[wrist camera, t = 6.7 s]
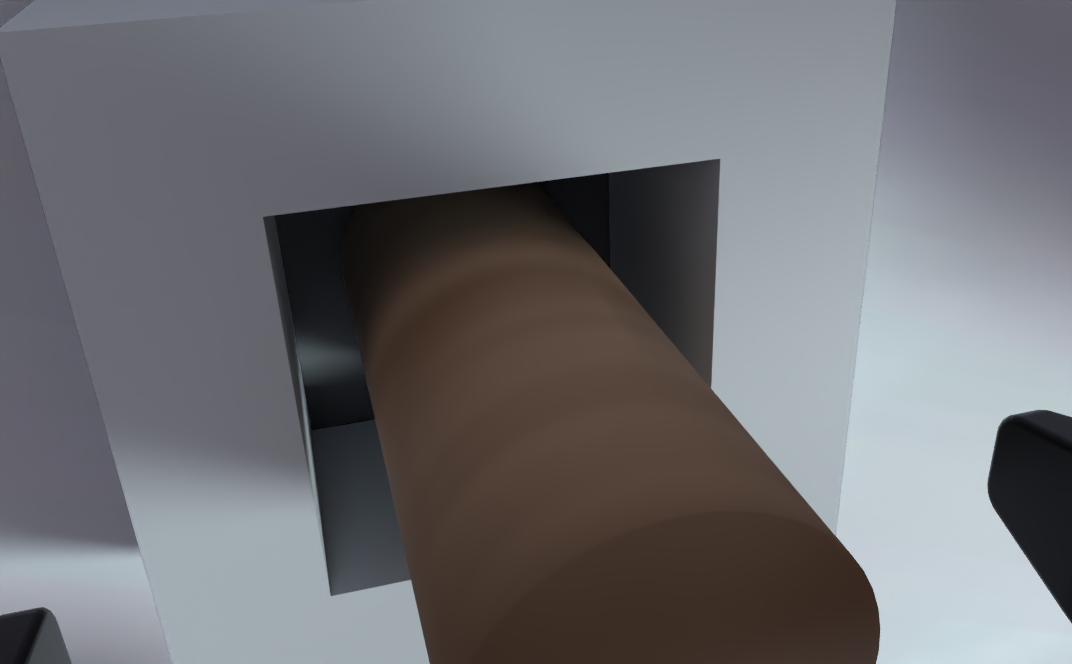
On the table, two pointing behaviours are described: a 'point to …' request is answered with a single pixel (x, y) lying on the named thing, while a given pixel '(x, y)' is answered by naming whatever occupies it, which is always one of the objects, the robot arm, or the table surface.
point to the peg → (574, 458)
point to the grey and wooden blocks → (407, 172)
